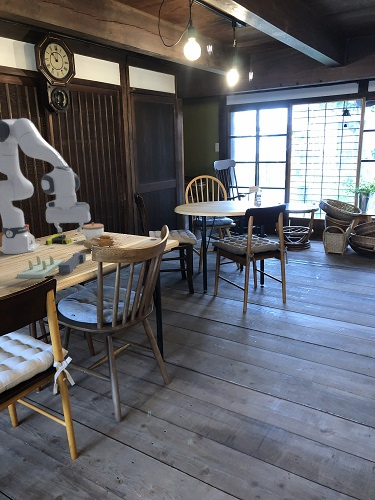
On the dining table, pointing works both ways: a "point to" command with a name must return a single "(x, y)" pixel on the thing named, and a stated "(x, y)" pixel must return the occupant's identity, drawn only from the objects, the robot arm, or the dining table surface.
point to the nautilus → (99, 241)
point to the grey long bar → (71, 263)
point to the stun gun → (58, 239)
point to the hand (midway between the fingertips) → (69, 232)
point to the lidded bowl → (92, 230)
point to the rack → (40, 268)
